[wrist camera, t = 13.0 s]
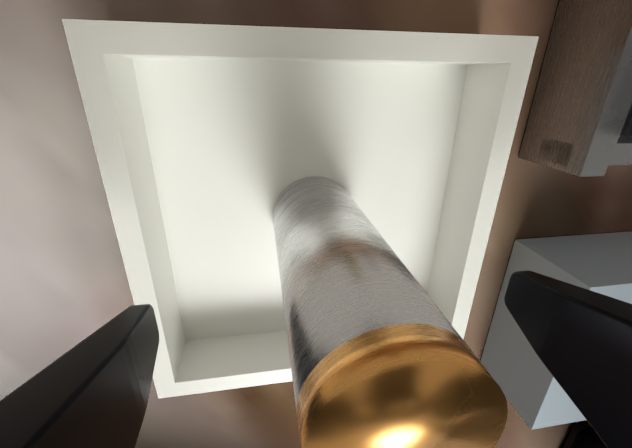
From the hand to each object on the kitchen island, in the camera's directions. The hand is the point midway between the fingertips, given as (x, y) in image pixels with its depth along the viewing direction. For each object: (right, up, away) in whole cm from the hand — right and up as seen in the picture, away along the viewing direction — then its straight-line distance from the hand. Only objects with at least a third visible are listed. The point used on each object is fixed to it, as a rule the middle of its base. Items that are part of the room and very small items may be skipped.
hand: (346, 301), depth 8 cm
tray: (-1, +2, +5) cm, 6 cm away
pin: (-1, +2, +5) cm, 5 cm away
